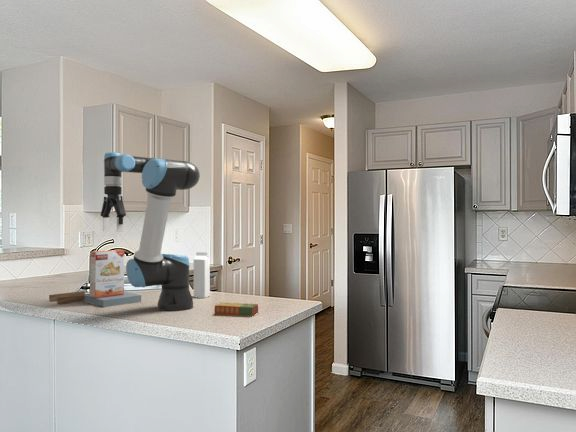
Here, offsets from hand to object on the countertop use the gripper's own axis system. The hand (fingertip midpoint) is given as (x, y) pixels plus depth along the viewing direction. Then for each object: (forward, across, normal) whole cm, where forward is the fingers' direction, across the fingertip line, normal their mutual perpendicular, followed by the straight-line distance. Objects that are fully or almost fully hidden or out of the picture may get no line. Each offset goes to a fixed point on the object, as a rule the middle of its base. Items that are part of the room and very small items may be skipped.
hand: (112, 231), depth 218 cm
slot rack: (+33, +17, +12) cm, 39 cm away
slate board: (+33, 0, 0) cm, 33 cm away
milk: (+33, -20, -36) cm, 53 cm away
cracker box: (+30, 0, +3) cm, 30 cm away
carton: (+33, -64, -22) cm, 75 cm away
